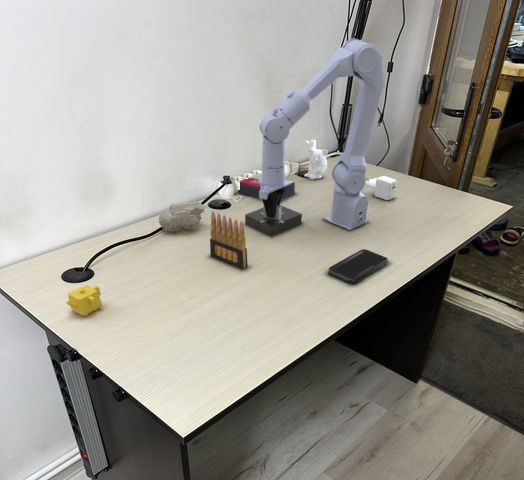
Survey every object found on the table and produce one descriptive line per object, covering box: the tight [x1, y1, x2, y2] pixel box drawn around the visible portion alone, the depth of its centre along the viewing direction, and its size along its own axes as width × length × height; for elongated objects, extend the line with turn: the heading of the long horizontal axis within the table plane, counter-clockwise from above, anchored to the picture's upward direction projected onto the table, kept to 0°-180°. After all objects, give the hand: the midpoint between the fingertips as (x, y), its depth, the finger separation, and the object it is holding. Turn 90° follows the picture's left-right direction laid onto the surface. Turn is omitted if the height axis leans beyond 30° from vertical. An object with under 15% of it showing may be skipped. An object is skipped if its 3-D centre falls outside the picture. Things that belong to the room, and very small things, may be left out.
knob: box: [262, 205, 282, 220], centre depth 135 cm, size 5×2×4 cm, turn 68°
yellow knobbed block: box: [65, 284, 102, 317], centre depth 104 cm, size 8×6×5 cm
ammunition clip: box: [209, 210, 249, 271], centre depth 119 cm, size 11×2×12 cm, turn 52°
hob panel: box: [244, 204, 303, 238], centre depth 139 cm, size 11×12×3 cm
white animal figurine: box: [304, 139, 329, 180], centre depth 166 cm, size 8×7×12 cm
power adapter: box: [365, 175, 398, 201], centre depth 156 cm, size 11×5×6 cm, turn 44°
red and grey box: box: [237, 173, 296, 201], centre depth 157 cm, size 11×4×15 cm
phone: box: [327, 248, 389, 285], centre depth 120 cm, size 8×1×15 cm
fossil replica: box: [158, 201, 205, 233], centre depth 135 cm, size 12×8×10 cm
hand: (272, 215), depth 136 cm, fingers closed on knob, 2 cm apart
